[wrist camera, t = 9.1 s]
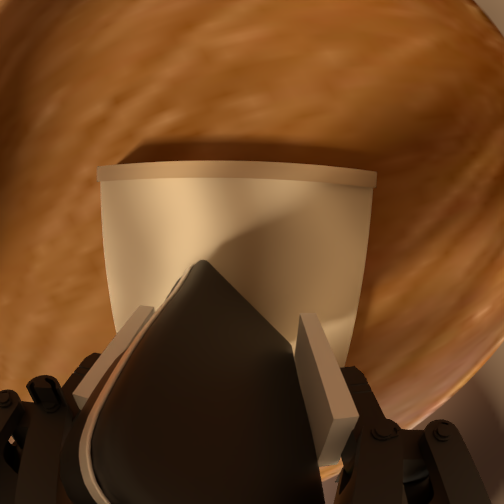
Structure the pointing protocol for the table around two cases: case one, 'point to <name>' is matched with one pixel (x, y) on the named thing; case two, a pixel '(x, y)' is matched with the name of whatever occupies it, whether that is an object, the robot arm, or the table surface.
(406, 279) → the table surface
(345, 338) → the board
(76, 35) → the table surface
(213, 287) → the battery charger
